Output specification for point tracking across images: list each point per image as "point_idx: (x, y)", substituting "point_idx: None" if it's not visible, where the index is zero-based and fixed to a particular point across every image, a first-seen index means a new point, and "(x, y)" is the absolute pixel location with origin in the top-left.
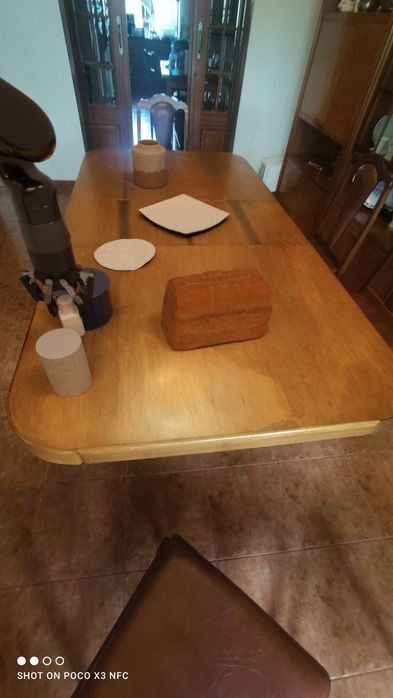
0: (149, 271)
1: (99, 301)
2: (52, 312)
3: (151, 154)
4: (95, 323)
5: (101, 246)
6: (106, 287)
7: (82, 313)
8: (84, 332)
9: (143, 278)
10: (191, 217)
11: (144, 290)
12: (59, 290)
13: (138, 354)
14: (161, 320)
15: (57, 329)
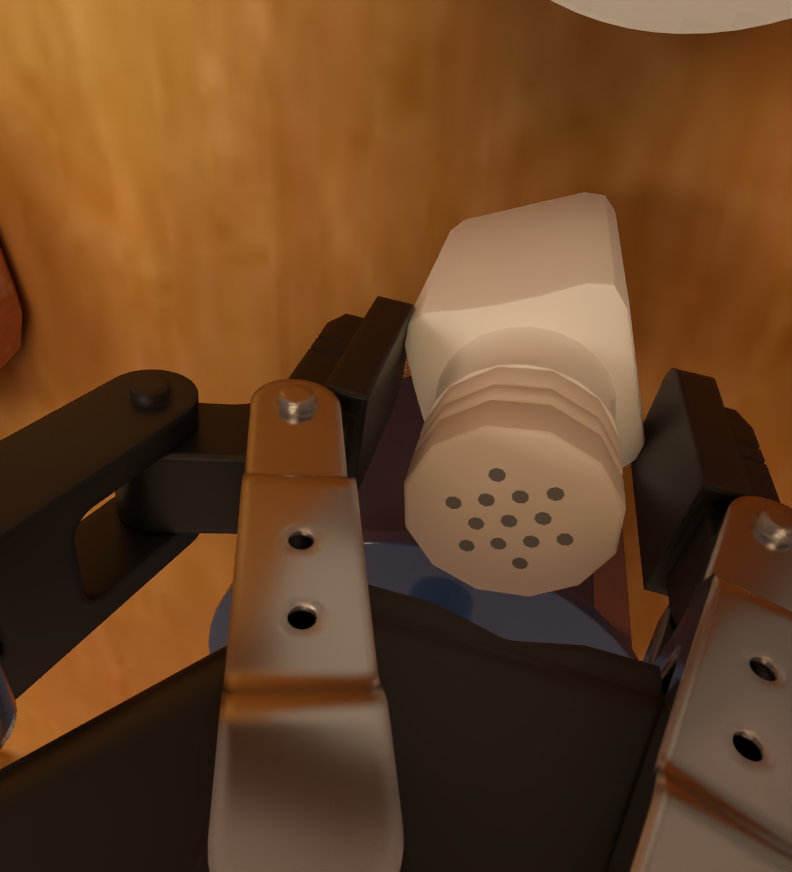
0: (152, 678)
1: None
2: (714, 411)
3: None
4: (406, 397)
5: None
6: (223, 614)
7: (366, 322)
8: (449, 233)
9: (175, 649)
10: None
11: (161, 578)
12: (527, 644)
13: (133, 51)
14: (3, 321)
15: (723, 14)
